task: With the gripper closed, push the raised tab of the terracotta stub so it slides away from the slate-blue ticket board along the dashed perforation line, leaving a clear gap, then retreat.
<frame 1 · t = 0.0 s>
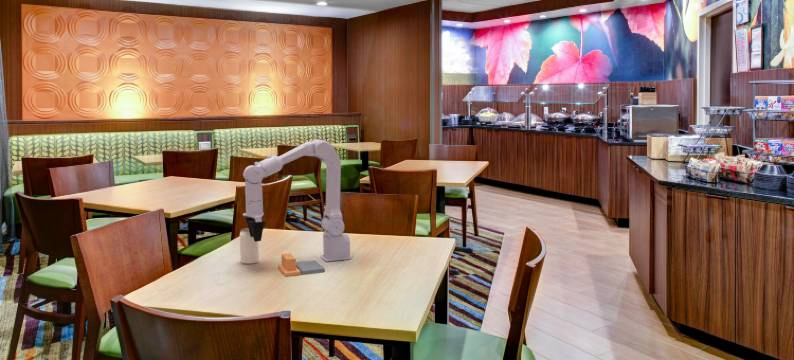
hand: (255, 238, 213), 10 cm above the table, tool pointing down, fingers open, 7 cm apart
can: (250, 262, 222), on the table
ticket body: (308, 268, 212), on the table
stub: (288, 263, 209), point 3 cm above the table, slide at 0.0 cm
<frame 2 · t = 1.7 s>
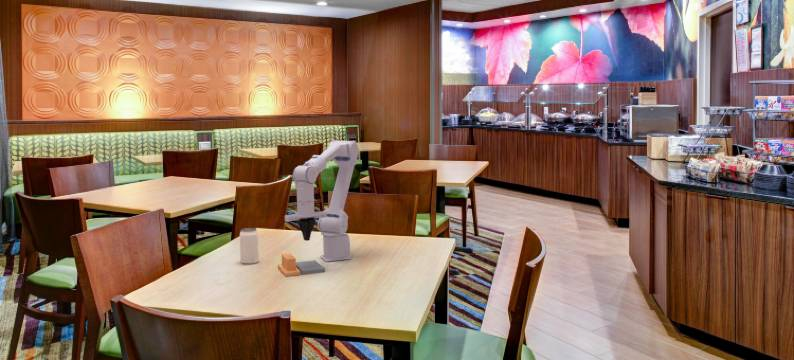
hand: (306, 240, 210), 10 cm above the table, tool pointing down, fingers closed
nothing on the table moved.
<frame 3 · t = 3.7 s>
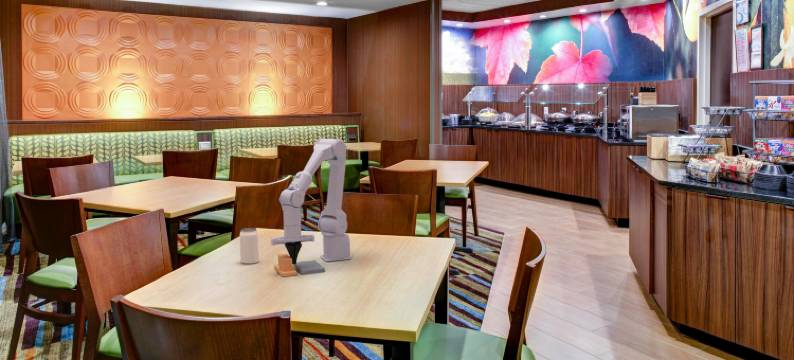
hand: (293, 263, 209), 2 cm above the table, tool pointing down, fingers closed
stub: (285, 264, 208), point 3 cm above the table, slide at 1.2 cm, touching gripper
everything else where it was.
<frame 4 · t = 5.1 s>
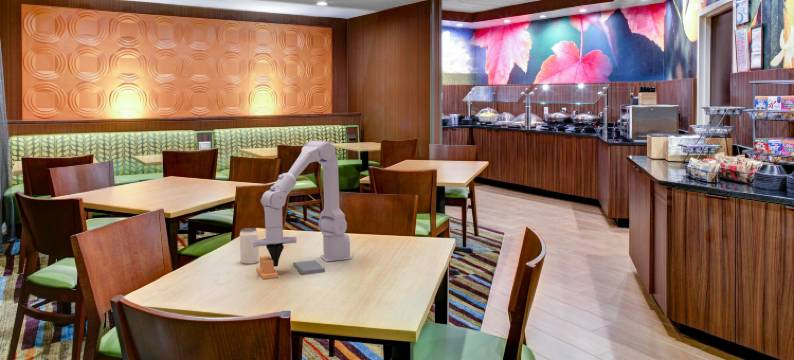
hand: (275, 265, 207), 2 cm above the table, tool pointing down, fingers closed
stub: (266, 266, 206), point 3 cm above the table, slide at 7.5 cm, touching gripper
everything else where it was.
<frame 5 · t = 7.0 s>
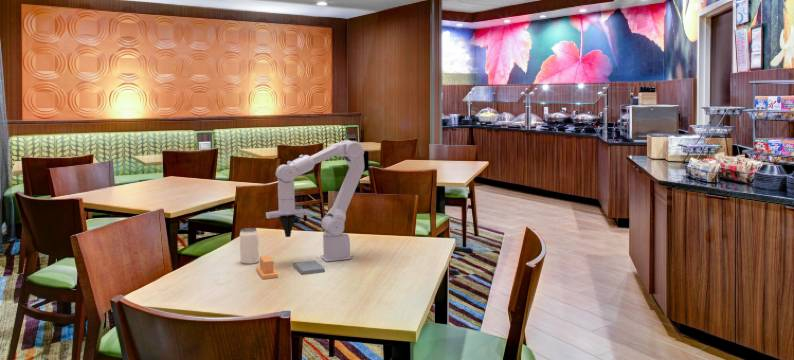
hand: (287, 236, 218), 10 cm above the table, tool pointing down, fingers closed
stub: (266, 266, 206), point 3 cm above the table, slide at 7.5 cm
everything else where it was.
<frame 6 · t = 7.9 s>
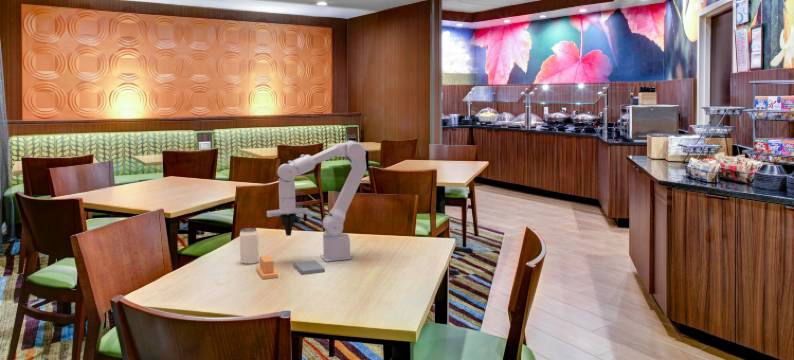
hand: (288, 235, 220), 10 cm above the table, tool pointing down, fingers closed
nothing on the table moved.
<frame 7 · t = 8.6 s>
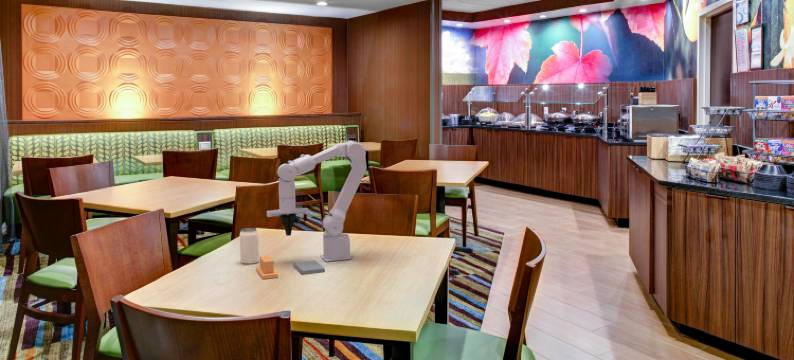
hand: (288, 235, 220), 10 cm above the table, tool pointing down, fingers closed
nothing on the table moved.
at the end: stub slide at 7.5 cm; the gripper is holding nothing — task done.
